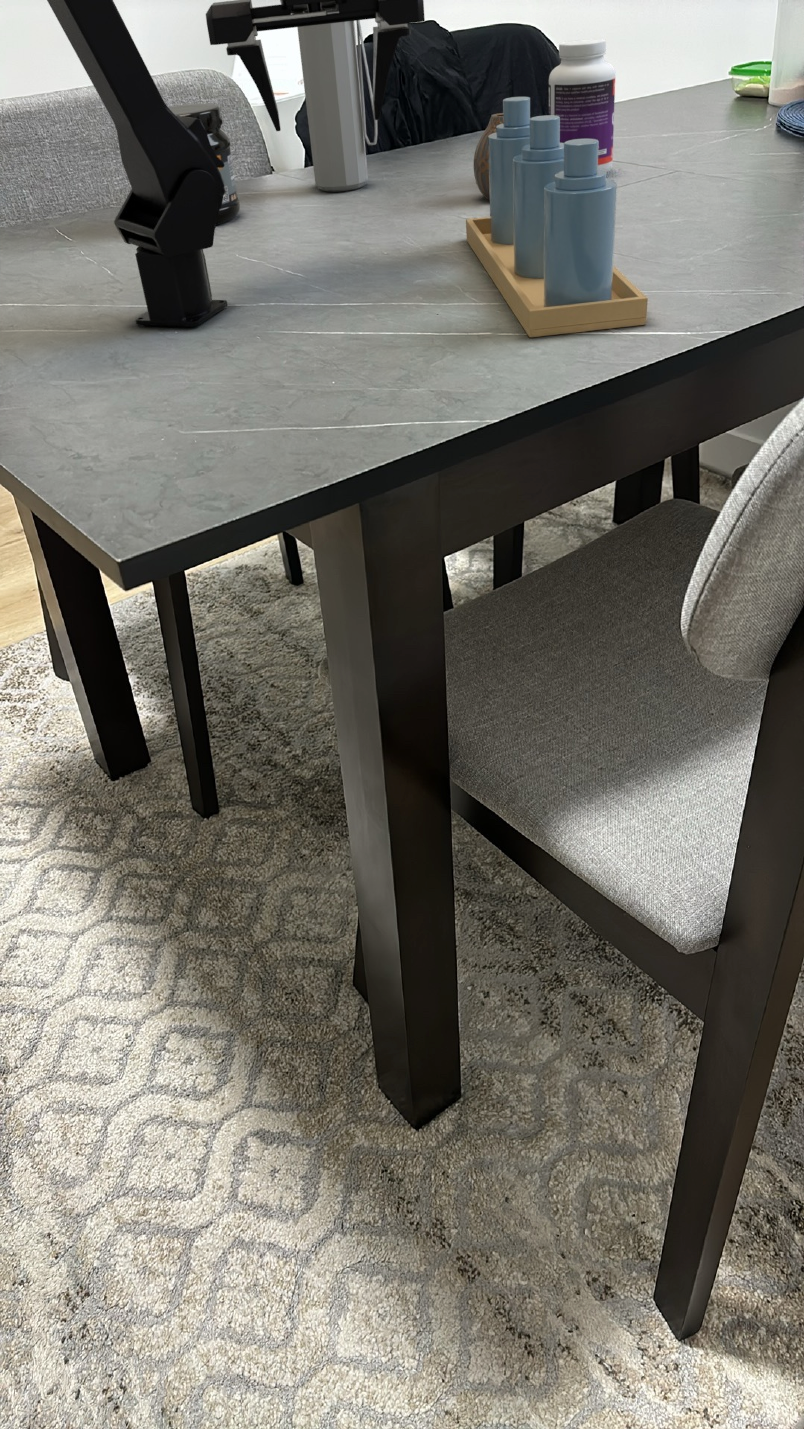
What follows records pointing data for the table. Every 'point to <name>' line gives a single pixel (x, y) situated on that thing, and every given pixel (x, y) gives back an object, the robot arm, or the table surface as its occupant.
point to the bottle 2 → (579, 229)
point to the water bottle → (336, 103)
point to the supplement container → (216, 152)
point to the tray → (528, 293)
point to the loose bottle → (534, 193)
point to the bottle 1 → (506, 165)
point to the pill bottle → (584, 96)
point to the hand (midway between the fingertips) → (327, 125)
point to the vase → (485, 156)
